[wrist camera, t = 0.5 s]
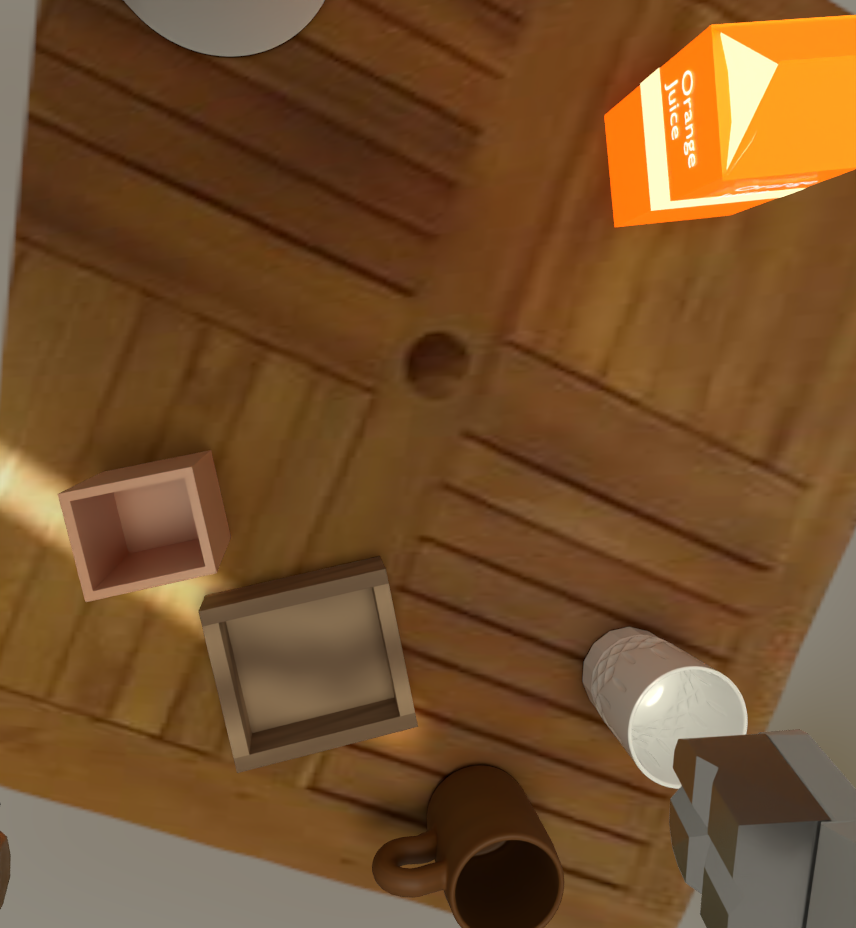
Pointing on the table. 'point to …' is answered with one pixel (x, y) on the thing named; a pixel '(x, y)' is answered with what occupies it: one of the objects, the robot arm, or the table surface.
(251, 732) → the large crate
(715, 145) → the orange juice
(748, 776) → the robot arm
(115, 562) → the pink square pot
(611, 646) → the white cup
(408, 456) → the table surface
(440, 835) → the mug
